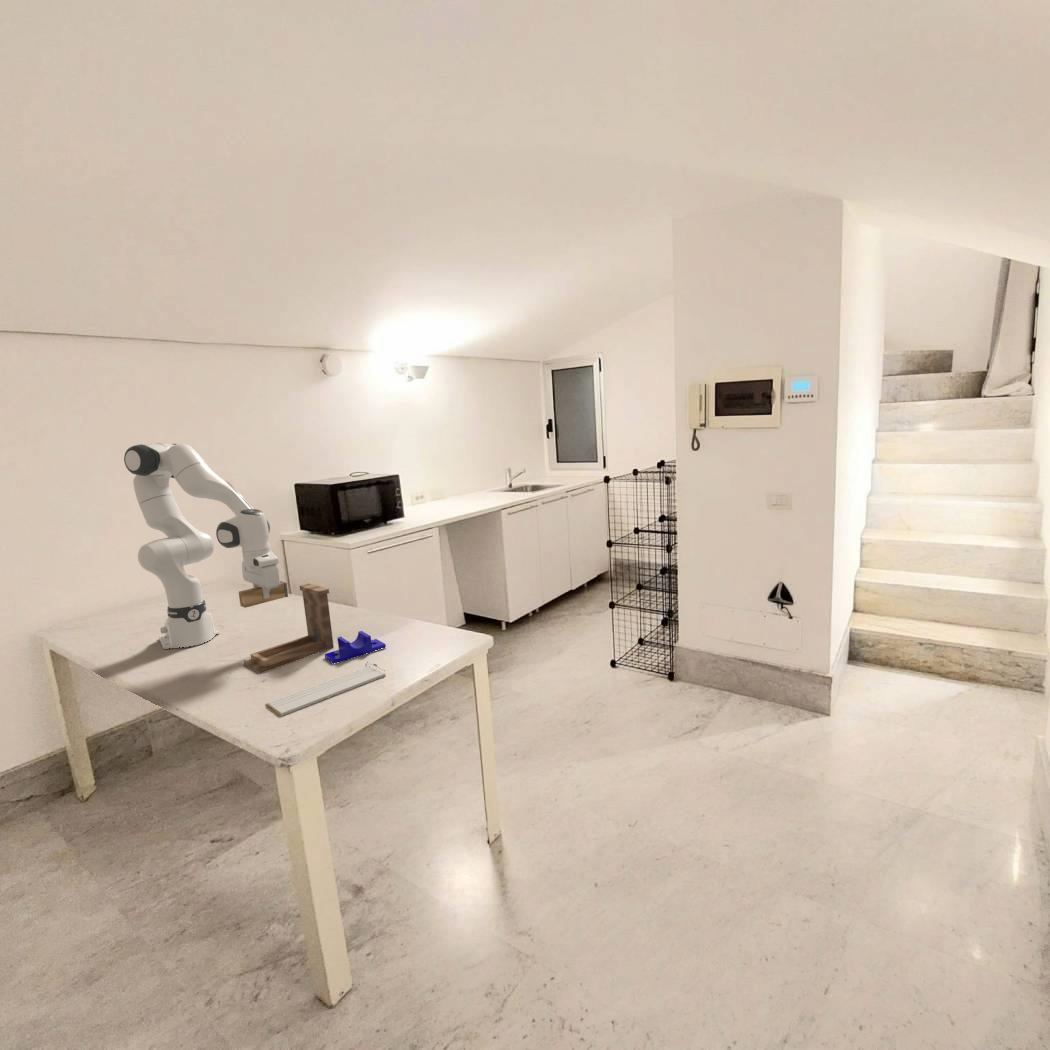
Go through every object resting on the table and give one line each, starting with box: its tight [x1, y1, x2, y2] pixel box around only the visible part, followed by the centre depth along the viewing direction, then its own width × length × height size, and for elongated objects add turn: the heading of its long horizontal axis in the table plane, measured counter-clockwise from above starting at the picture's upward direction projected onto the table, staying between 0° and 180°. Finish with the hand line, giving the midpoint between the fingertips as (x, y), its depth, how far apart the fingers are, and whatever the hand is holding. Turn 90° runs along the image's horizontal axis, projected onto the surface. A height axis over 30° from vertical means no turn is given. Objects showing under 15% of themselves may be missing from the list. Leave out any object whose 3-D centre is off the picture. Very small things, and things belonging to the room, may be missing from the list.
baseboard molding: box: [265, 661, 386, 717], centre depth 170 cm, size 31×3×12 cm
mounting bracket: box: [324, 630, 387, 665], centre depth 196 cm, size 18×7×6 cm, turn 129°
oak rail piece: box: [238, 581, 289, 608], centre depth 204 cm, size 4×15×5 cm, turn 138°
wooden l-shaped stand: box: [243, 583, 335, 674], centre depth 196 cm, size 13×26×20 cm, turn 138°
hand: (262, 596), depth 204 cm, fingers closed on oak rail piece, 3 cm apart
